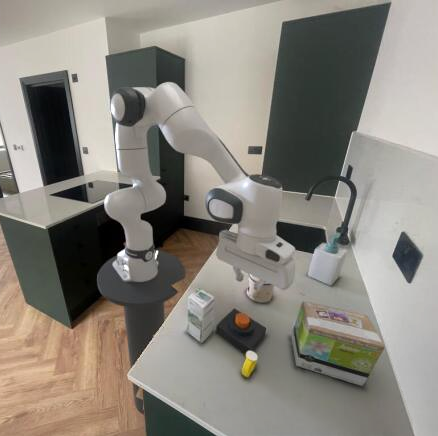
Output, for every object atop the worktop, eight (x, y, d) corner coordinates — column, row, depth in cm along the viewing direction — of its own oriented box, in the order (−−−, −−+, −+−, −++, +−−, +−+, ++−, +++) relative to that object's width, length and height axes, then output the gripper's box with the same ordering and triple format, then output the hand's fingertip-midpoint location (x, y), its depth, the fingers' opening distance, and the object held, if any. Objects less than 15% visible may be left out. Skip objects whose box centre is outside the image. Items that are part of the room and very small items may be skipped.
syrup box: (212, 332, 72) (215, 296, 66) (201, 344, 68) (203, 307, 62) (198, 322, 75) (199, 286, 70) (186, 333, 72) (187, 296, 66)
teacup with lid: (250, 283, 92) (254, 259, 88) (274, 293, 87) (280, 267, 82) (239, 300, 84) (243, 274, 79) (265, 312, 78) (270, 285, 74)
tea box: (295, 368, 61) (308, 327, 55) (290, 336, 70) (301, 299, 64) (364, 388, 56) (386, 346, 50) (350, 352, 65) (367, 312, 59)
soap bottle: (338, 277, 95) (353, 236, 87) (331, 286, 90) (345, 243, 82) (315, 267, 101) (327, 228, 94) (307, 275, 96) (318, 235, 89)
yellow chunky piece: (248, 383, 58) (251, 368, 55) (238, 375, 59) (240, 360, 57) (258, 366, 61) (262, 351, 59) (248, 359, 63) (251, 344, 61)
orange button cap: (232, 322, 69) (233, 317, 68) (239, 315, 72) (240, 310, 71) (244, 331, 66) (245, 325, 66) (251, 323, 69) (252, 318, 68)
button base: (215, 332, 72) (216, 320, 70) (233, 315, 78) (234, 303, 76) (248, 357, 64) (250, 344, 62) (265, 335, 70) (267, 323, 68)
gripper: (213, 231, 63) (210, 272, 68) (292, 261, 49) (280, 310, 55) (226, 224, 67) (222, 264, 72) (303, 250, 53) (290, 297, 58)
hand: (248, 284), depth 63 cm, fingers open, 4 cm apart
